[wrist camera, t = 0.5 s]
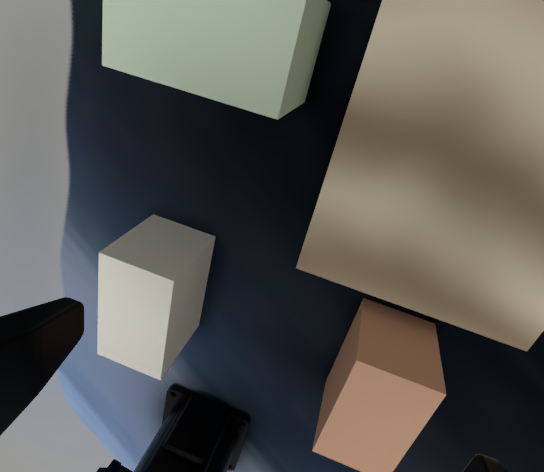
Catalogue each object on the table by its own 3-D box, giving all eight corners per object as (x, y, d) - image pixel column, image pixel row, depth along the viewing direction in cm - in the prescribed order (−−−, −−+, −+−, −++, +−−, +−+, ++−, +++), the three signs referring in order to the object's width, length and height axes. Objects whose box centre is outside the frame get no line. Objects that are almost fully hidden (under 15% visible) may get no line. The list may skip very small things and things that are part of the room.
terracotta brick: (386, 404, 24) (385, 481, 20) (326, 380, 25) (312, 451, 20) (435, 322, 21) (446, 394, 17) (363, 296, 21) (356, 360, 17)
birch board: (521, 338, 20) (526, 351, 19) (299, 259, 21) (295, 268, 20) (747, 39, 13) (772, 39, 12) (397, -45, 15) (398, -50, 14)
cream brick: (199, 324, 26) (160, 380, 21) (146, 303, 26) (97, 353, 22) (216, 235, 22) (173, 281, 18) (154, 213, 23) (98, 252, 19)
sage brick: (331, 3, 16) (309, -13, 12) (305, 101, 18) (277, 119, 14) (177, -37, 17) (104, -66, 12) (168, 60, 19) (102, 65, 14)
